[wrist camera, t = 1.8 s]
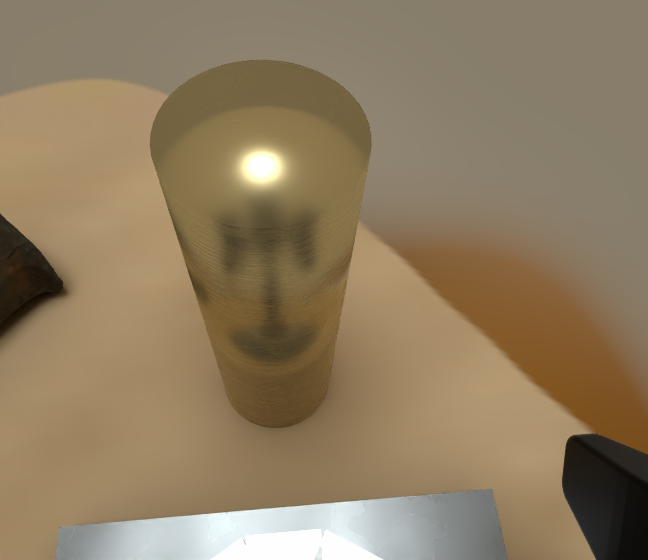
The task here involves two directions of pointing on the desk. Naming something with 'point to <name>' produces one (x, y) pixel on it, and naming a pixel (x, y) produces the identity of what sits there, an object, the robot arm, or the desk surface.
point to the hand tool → (22, 270)
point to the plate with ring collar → (305, 533)
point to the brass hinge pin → (266, 222)
